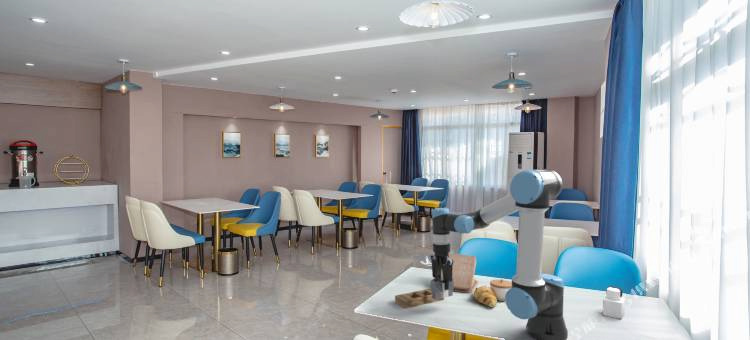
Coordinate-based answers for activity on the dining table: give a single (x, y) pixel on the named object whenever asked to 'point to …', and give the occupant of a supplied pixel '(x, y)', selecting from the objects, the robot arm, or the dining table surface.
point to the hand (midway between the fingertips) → (442, 295)
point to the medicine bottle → (614, 303)
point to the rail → (416, 298)
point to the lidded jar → (500, 288)
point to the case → (463, 272)
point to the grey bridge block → (440, 288)
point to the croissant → (485, 296)
